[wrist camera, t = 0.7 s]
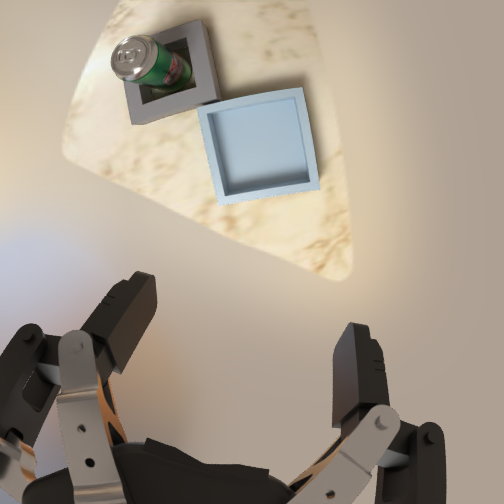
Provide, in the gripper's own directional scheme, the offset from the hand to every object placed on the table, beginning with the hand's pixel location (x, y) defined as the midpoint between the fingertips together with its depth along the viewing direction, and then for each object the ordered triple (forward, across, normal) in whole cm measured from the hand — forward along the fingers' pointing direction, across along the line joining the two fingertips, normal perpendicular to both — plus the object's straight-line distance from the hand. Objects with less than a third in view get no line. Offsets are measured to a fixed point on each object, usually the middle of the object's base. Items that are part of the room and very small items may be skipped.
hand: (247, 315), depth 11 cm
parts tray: (+27, +4, -1) cm, 27 cm away
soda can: (+28, +16, -8) cm, 33 cm away
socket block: (+27, +16, -8) cm, 33 cm away
